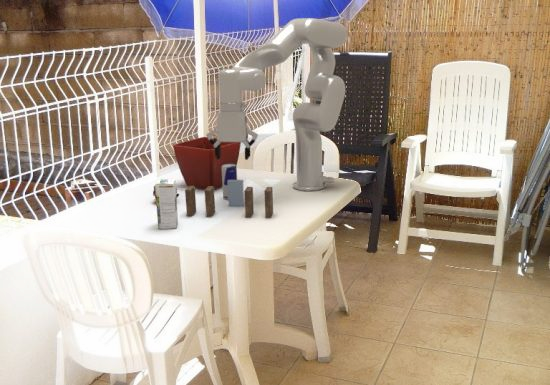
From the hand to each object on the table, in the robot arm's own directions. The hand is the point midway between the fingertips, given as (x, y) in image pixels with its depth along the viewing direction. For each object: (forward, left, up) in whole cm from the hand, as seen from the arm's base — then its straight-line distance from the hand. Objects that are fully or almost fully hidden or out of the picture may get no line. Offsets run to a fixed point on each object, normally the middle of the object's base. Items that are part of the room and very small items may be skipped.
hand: (232, 158), depth 198 cm
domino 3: (0, 0, -17) cm, 17 cm away
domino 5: (-13, +10, -17) cm, 23 cm away
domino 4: (-7, +10, -17) cm, 20 cm away
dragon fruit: (+26, -3, -17) cm, 31 cm away
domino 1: (+13, +10, -17) cm, 23 cm away
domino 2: (+6, +10, -17) cm, 20 cm away
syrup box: (+17, +22, -17) cm, 32 cm away
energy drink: (+4, -9, -17) cm, 20 cm away
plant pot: (+16, -26, -17) cm, 35 cm away
